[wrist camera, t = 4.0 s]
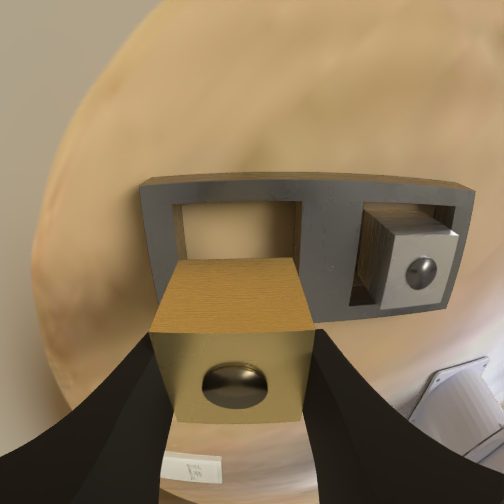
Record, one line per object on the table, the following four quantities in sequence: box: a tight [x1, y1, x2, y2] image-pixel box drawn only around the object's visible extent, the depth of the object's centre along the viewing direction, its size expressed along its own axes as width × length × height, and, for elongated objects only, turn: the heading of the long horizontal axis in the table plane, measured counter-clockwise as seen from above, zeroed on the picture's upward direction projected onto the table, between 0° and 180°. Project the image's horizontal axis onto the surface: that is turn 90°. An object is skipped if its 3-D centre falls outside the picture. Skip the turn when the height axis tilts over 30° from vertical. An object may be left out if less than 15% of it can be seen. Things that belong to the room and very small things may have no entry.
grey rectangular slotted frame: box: [139, 172, 476, 323], centre depth 16 cm, size 8×18×2 cm, turn 91°
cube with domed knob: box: [356, 209, 459, 310], centre depth 15 cm, size 4×4×4 cm
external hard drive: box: [160, 451, 222, 484], centre depth 28 cm, size 2×8×12 cm
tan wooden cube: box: [149, 257, 315, 424], centre depth 9 cm, size 4×4×4 cm
